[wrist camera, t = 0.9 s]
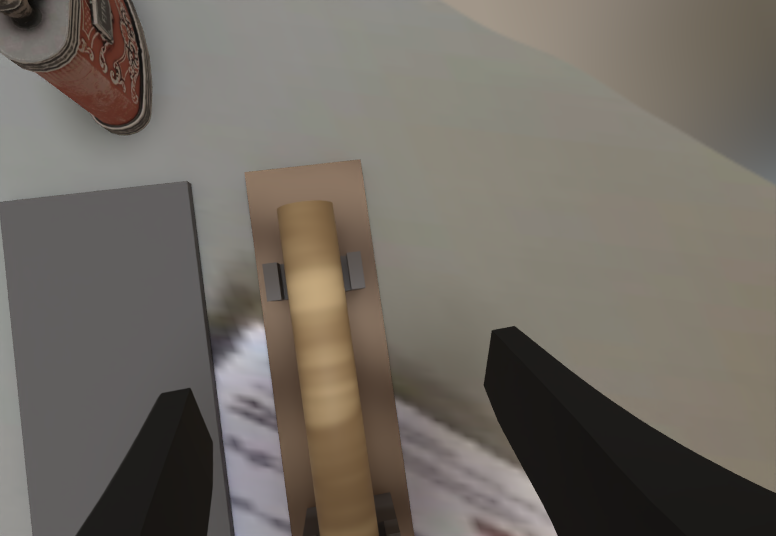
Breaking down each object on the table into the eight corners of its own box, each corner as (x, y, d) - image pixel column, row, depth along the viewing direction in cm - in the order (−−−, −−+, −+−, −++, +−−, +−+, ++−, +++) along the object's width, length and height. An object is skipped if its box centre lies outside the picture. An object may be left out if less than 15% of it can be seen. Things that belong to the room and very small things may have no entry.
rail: (389, 610, 20) (395, 652, 18) (334, 622, 20) (333, 666, 18) (333, 209, 21) (332, 197, 19) (280, 215, 21) (272, 204, 18)
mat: (248, 651, 23) (246, 661, 22) (57, 694, 22) (50, 705, 21) (190, 184, 24) (186, 180, 24) (7, 204, 23) (-2, 202, 23)
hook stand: (423, 612, 24) (445, 694, 19) (308, 638, 23) (299, 730, 18) (359, 165, 25) (364, 132, 20) (248, 177, 24) (225, 146, 20)
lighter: (161, 130, 24) (37, 13, 14) (94, 139, 24) (-81, 26, 14) (137, -15, 25) (0, -227, 15) (71, -8, 24) (-116, -221, 14)
